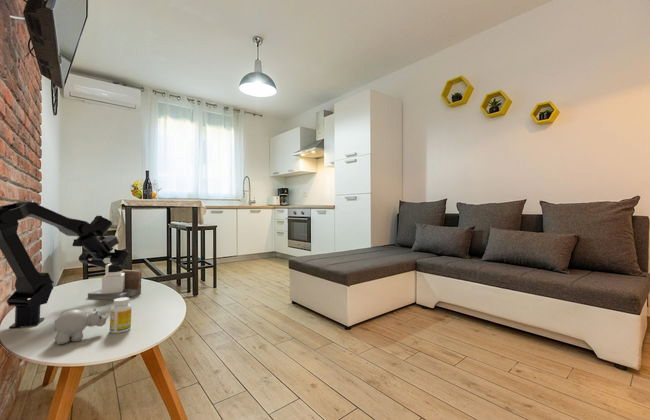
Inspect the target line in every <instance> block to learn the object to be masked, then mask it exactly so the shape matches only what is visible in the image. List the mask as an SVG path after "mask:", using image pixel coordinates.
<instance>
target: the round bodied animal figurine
mask: <svg viewBox="0 0 650 420" xmlns="http://www.w3.org/2000/svg"><path fill="white" fill-rule="evenodd" d="M108 317H109V315H108V313H107V312H106V313H105V315H102V314H101V313H100V312H99V310H97V308H94V309H93V310H92V311H91V312H88V313H86V312H84V311H83V310H81V309H70V310H66V311H64V312H63V313H61V314H60V315H59V316H58V317H57V318H56V319H55V320H54V322H53V324H54V330H55V332H56V334H55V336H54V340H55V342H56V343H57V345H64V344H66V343H69V342H70V341H71V342H79V341H82V340H83V339H84V333H83V331H84V330H85V329H86V328H87V327H95V326H97V327H103V326H104V325H106V323H107V319H108Z"/></svg>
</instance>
